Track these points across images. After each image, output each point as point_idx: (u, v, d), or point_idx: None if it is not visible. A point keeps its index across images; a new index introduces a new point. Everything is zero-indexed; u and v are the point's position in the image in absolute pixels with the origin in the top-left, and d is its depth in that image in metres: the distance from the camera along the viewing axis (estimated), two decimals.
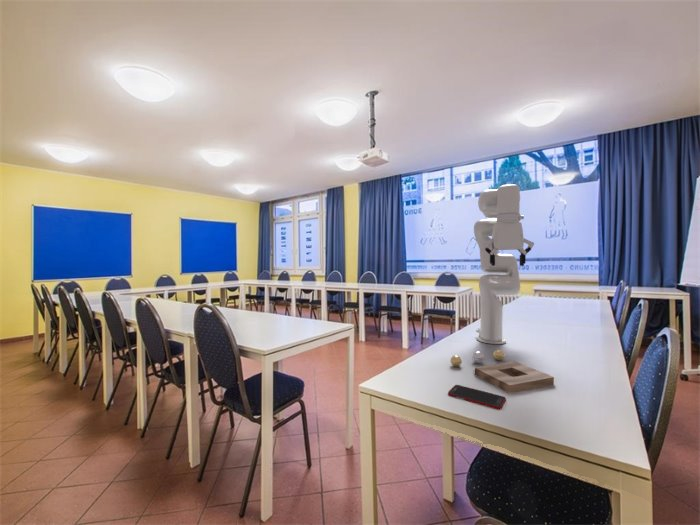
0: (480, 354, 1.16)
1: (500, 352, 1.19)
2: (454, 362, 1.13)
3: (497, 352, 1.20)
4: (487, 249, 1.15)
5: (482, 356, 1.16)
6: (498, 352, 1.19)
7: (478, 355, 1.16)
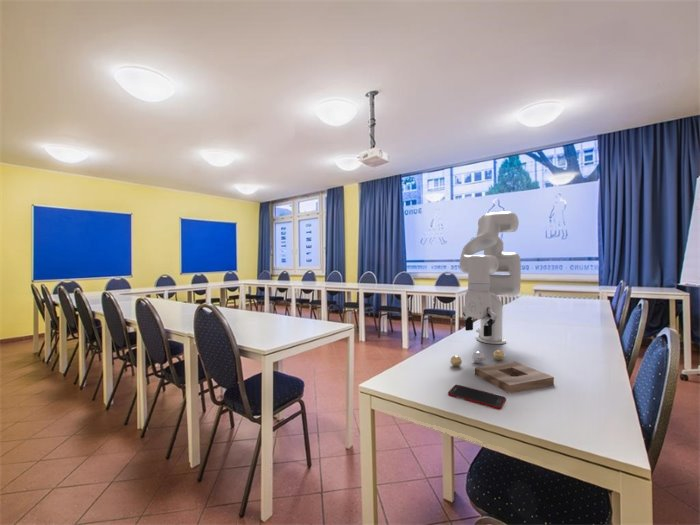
0: (480, 354, 1.16)
1: (500, 352, 1.19)
2: (454, 362, 1.13)
3: (497, 352, 1.20)
4: None
5: (482, 356, 1.16)
6: (498, 352, 1.19)
7: (478, 355, 1.16)
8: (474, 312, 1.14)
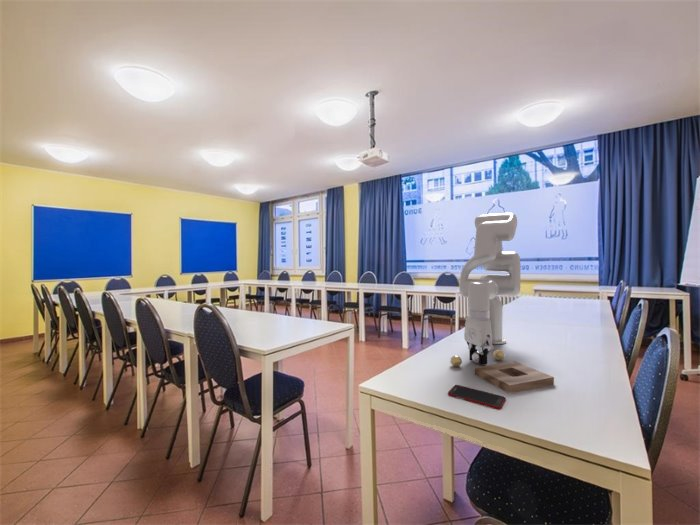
0: None
1: (500, 352, 1.19)
2: (454, 362, 1.13)
3: (497, 352, 1.20)
4: None
5: None
6: (498, 352, 1.19)
7: (478, 355, 1.16)
8: (474, 339, 1.15)
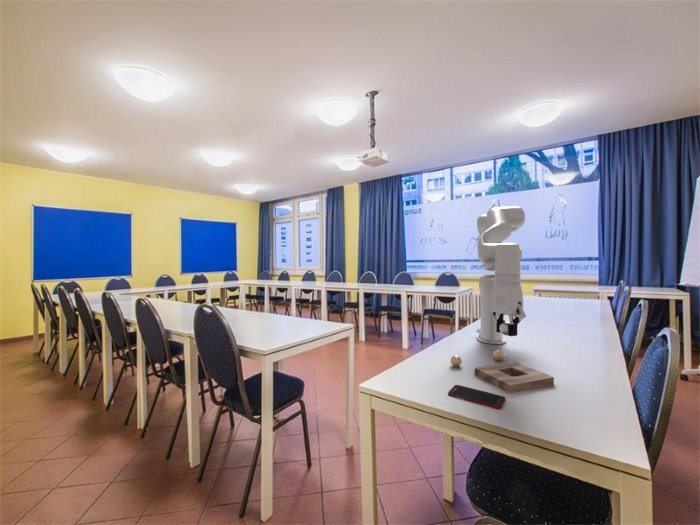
0: None
1: (500, 352, 1.19)
2: (454, 362, 1.13)
3: (497, 352, 1.20)
4: None
5: None
6: (498, 352, 1.19)
7: (506, 326, 1.02)
8: (503, 307, 1.02)
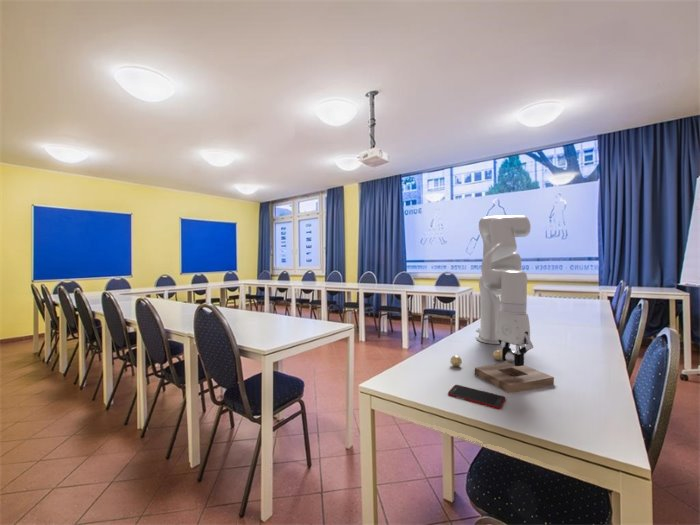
0: None
1: (500, 352, 1.19)
2: (454, 362, 1.13)
3: (497, 352, 1.20)
4: None
5: None
6: (498, 352, 1.19)
7: (513, 355, 1.00)
8: (509, 336, 1.00)
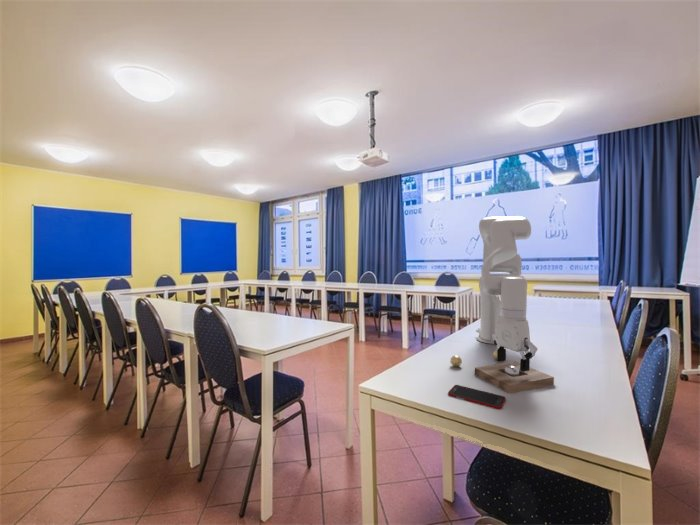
0: (514, 368, 1.01)
1: None
2: (454, 362, 1.13)
3: None
4: None
5: (517, 371, 1.01)
6: None
7: (512, 370, 1.01)
8: (509, 342, 1.00)
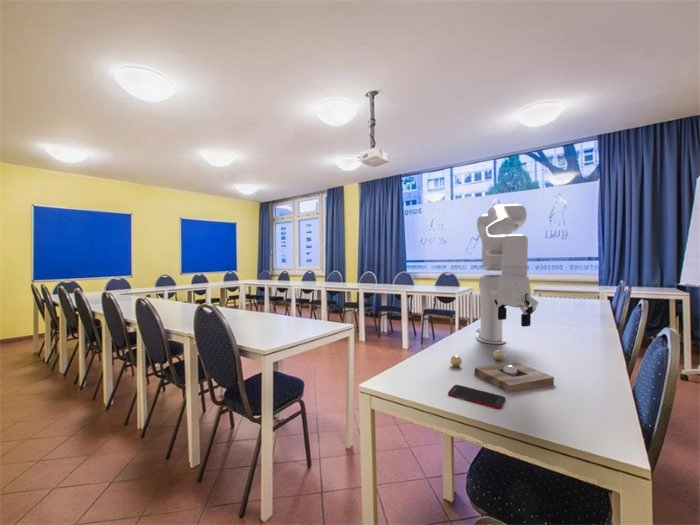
0: (511, 366, 1.02)
1: (500, 352, 1.19)
2: (454, 362, 1.13)
3: (497, 352, 1.20)
4: None
5: (514, 368, 1.02)
6: (498, 352, 1.19)
7: (508, 368, 1.02)
8: (510, 299, 1.01)
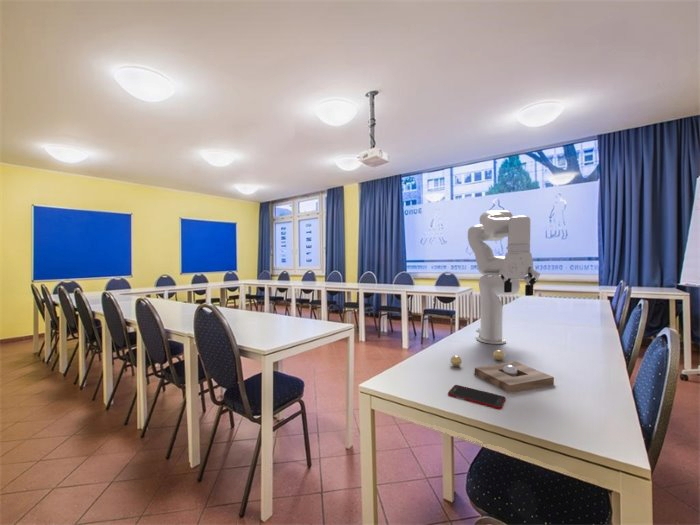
0: (511, 366, 1.02)
1: (500, 352, 1.19)
2: (454, 362, 1.13)
3: (497, 352, 1.20)
4: None
5: (514, 368, 1.02)
6: (498, 352, 1.19)
7: (508, 368, 1.02)
8: (515, 273, 1.15)
